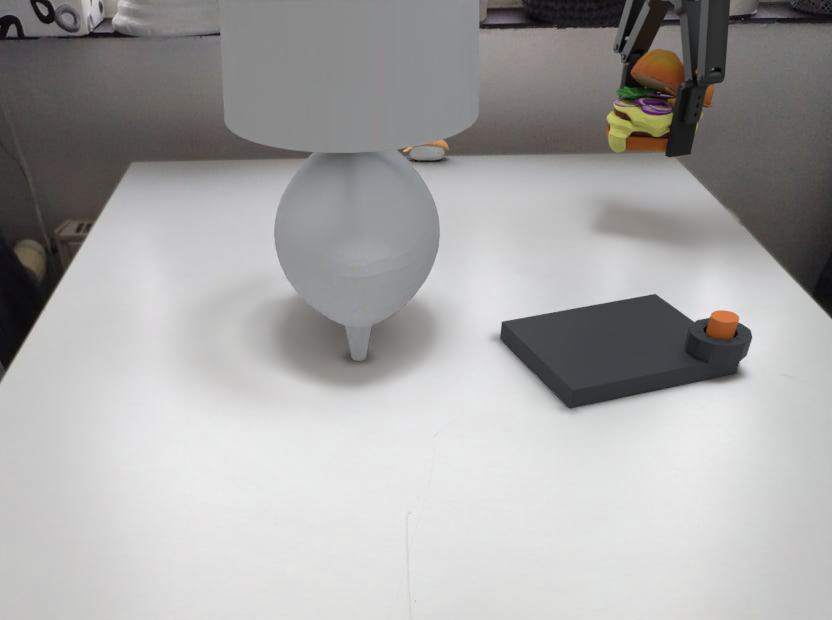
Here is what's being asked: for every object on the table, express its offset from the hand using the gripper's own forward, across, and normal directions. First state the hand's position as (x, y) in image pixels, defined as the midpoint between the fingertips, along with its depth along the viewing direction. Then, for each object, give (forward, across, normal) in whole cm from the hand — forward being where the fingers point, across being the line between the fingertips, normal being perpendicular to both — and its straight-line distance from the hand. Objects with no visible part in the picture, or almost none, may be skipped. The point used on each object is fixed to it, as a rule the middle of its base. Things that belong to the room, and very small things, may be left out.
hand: (650, 141), depth 100 cm
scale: (+9, +28, -19) cm, 35 cm away
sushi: (+9, -32, -14) cm, 36 cm away
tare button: (+6, +33, -12) cm, 36 cm away
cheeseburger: (0, 0, 0) cm, 0 cm away
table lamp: (+9, +14, -40) cm, 43 cm away
